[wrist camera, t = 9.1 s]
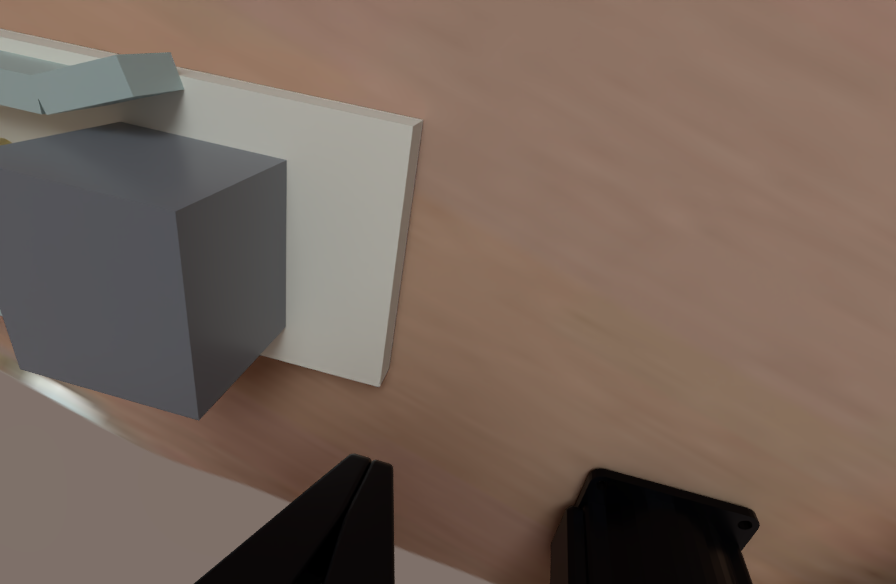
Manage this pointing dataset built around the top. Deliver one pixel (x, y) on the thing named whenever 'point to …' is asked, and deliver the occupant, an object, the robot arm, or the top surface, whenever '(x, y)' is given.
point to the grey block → (141, 262)
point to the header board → (269, 133)
